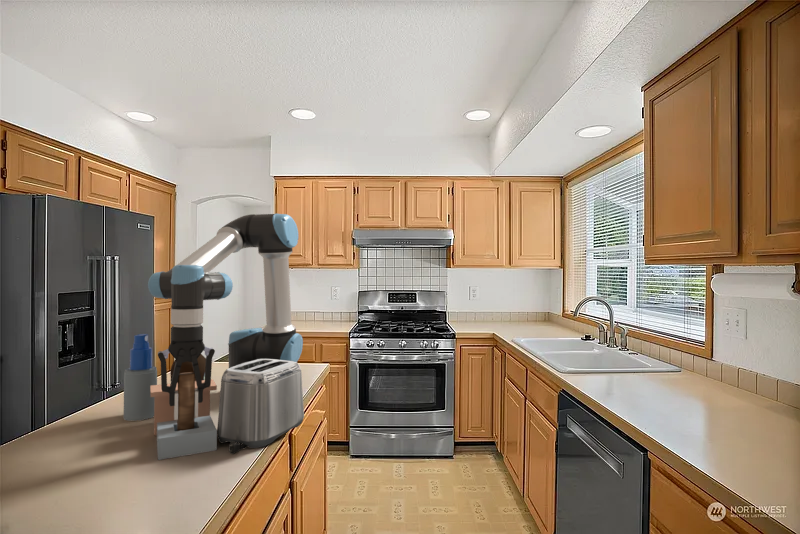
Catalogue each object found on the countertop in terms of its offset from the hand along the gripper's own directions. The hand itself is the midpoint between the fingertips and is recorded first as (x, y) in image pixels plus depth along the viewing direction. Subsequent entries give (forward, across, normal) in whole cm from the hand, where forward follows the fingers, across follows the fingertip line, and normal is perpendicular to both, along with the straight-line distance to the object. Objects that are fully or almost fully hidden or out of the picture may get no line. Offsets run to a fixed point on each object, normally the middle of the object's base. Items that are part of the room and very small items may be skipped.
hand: (185, 416), depth 119 cm
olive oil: (+8, -3, -20) cm, 22 cm away
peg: (+4, 0, 0) cm, 4 cm away
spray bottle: (+8, +10, -33) cm, 35 cm away
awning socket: (+8, 0, -4) cm, 8 cm away
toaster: (+8, -19, 0) cm, 20 cm away
